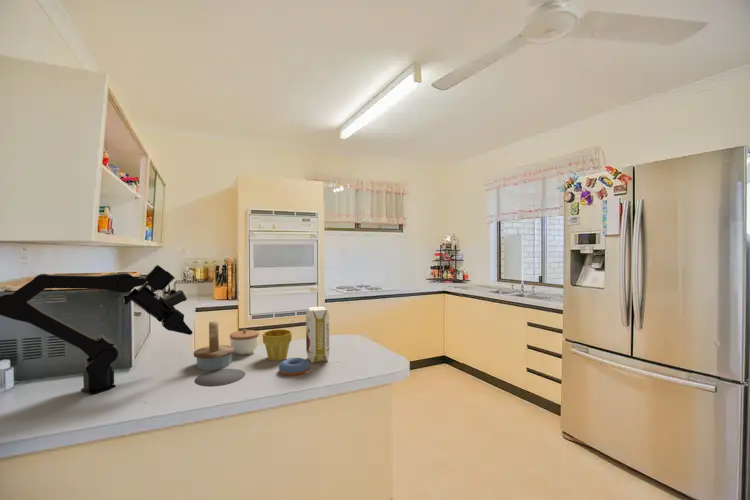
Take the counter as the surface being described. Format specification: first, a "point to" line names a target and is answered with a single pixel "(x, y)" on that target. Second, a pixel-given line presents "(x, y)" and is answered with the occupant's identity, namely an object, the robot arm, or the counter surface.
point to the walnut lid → (213, 345)
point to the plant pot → (277, 343)
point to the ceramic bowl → (214, 362)
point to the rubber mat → (219, 377)
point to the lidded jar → (244, 341)
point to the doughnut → (293, 366)
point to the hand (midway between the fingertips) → (188, 330)
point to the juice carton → (317, 334)
